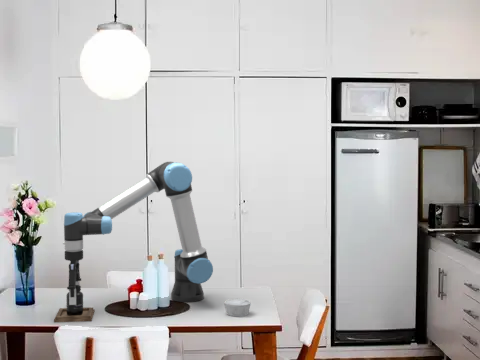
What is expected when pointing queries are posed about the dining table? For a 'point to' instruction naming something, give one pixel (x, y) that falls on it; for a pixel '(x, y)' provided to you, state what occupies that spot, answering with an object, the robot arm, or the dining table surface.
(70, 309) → the supplement bottle
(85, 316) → the walnut tray
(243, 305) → the ramekin
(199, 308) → the dining table surface
